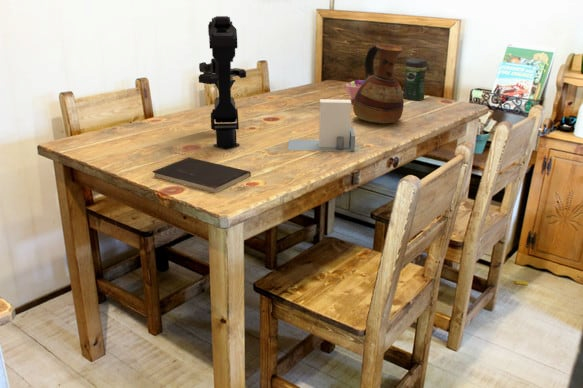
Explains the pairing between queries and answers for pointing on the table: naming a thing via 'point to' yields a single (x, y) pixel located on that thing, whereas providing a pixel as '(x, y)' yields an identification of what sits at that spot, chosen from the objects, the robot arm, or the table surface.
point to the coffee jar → (414, 79)
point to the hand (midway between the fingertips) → (223, 100)
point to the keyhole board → (315, 146)
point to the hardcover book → (202, 174)
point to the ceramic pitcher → (380, 88)
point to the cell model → (353, 87)
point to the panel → (334, 122)
